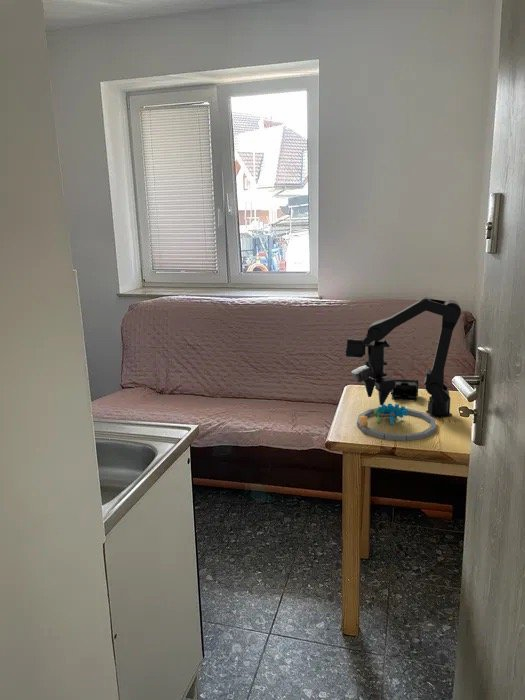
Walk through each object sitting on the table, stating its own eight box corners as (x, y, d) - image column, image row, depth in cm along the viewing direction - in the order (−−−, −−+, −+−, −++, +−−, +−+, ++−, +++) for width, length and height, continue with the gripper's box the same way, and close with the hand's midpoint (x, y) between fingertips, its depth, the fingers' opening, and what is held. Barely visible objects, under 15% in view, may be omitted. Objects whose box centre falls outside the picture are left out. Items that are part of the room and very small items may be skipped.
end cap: (417, 394, 207) (418, 378, 205) (418, 401, 200) (418, 383, 199) (390, 393, 210) (391, 376, 208) (390, 399, 203) (390, 382, 201)
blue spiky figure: (410, 414, 183) (405, 401, 176) (410, 430, 180) (404, 418, 173) (378, 415, 188) (371, 402, 180) (377, 430, 185) (370, 418, 177)
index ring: (409, 407, 194) (410, 395, 193) (451, 433, 170) (452, 420, 169) (344, 416, 187) (344, 404, 186) (378, 445, 164) (378, 431, 163)
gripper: (343, 354, 195) (343, 395, 199) (366, 367, 178) (366, 412, 181) (372, 351, 198) (371, 391, 202) (397, 364, 180) (396, 408, 184)
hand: (375, 400), depth 192 cm, fingers open, 9 cm apart
